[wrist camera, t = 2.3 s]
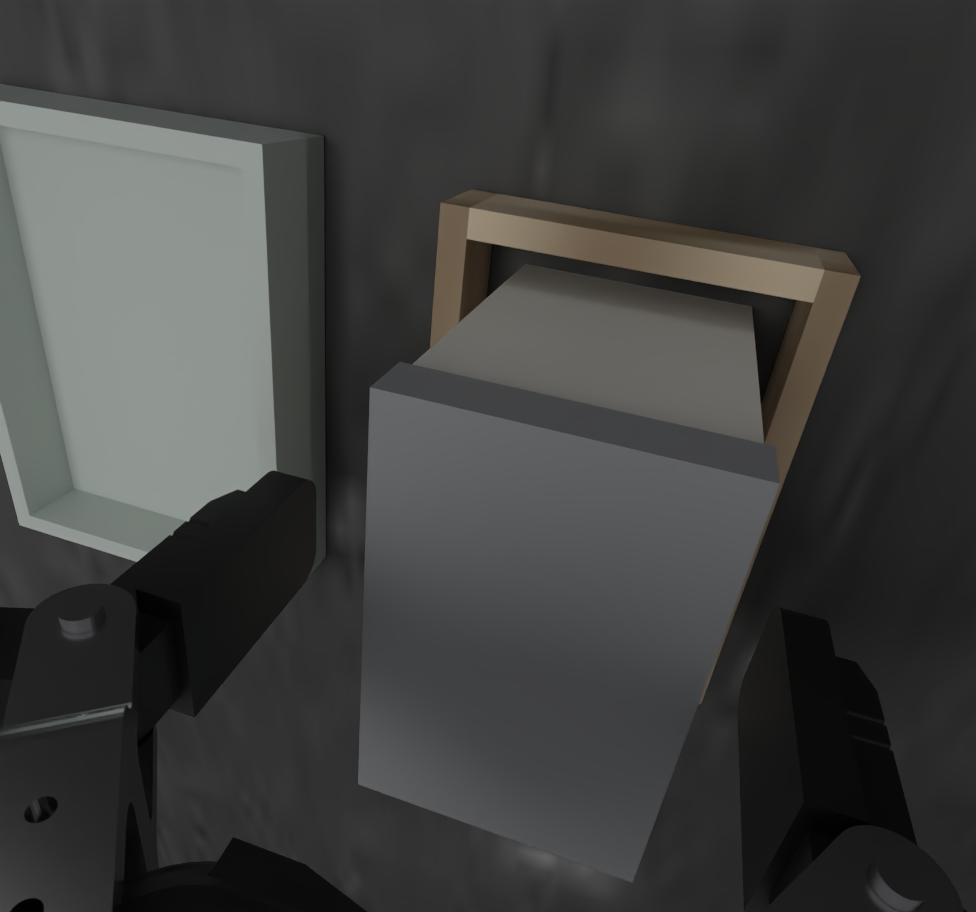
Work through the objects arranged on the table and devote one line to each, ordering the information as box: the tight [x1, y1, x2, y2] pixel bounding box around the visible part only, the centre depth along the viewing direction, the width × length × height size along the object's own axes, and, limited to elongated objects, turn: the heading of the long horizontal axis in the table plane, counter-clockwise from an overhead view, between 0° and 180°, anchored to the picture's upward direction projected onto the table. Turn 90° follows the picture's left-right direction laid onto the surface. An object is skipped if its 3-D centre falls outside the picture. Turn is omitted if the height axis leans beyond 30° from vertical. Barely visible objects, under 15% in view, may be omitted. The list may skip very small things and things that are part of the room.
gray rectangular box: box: [358, 264, 780, 882], centre depth 14 cm, size 5×8×8 cm, turn 172°
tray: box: [0, 84, 326, 577], centre depth 19 cm, size 9×12×2 cm
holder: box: [430, 189, 861, 704], centre depth 17 cm, size 8×11×2 cm
